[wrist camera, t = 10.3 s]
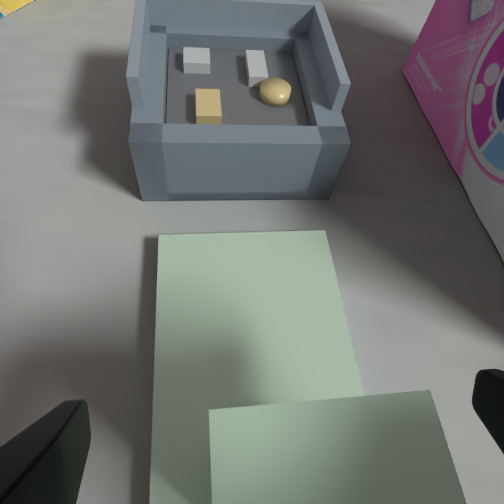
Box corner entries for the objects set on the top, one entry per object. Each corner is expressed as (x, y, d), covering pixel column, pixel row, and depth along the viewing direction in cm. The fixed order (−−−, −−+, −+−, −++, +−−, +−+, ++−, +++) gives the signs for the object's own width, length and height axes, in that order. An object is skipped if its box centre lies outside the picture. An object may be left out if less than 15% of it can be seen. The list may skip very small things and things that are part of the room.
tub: (328, 199, 21) (362, 117, 16) (142, 200, 19) (121, 113, 15) (301, 88, 26) (321, 1, 21) (151, 83, 24) (136, -10, 20)
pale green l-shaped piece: (375, 499, 14) (596, 531, 6) (153, 527, 13) (60, 613, 5) (319, 243, 19) (393, 84, 12) (161, 248, 18) (124, 77, 10)
